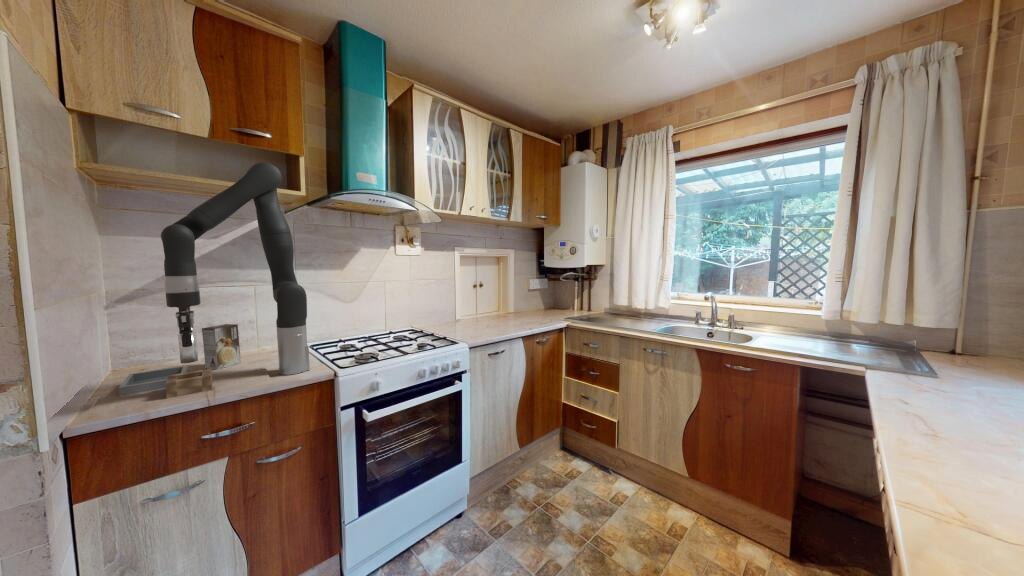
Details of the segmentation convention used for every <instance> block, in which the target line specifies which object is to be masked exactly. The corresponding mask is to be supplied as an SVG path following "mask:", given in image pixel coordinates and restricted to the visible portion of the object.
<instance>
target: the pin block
mask: <svg viewBox="0 0 1024 576" xmlns="http://www.w3.org/2000/svg"><path fill="white" fill-rule="evenodd" d="M212 370H213V369H212V368H211V369H206V368H204V369H199V370H192V371H188V372H186V373H180V374H174V375H169V377H168V379H167V381H166V388H165V393H166V394H165V396H166V399H172V398H177V397H183V396H188V395H189V396H190V395H194V394H198V393H204V392H208V391H213V381H214V380H213V371H212Z"/></svg>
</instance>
